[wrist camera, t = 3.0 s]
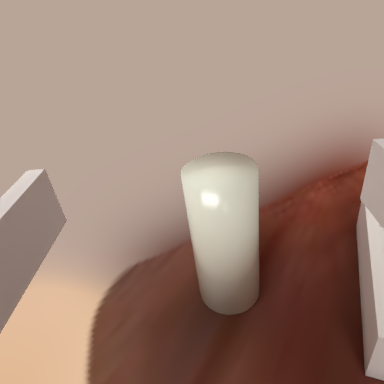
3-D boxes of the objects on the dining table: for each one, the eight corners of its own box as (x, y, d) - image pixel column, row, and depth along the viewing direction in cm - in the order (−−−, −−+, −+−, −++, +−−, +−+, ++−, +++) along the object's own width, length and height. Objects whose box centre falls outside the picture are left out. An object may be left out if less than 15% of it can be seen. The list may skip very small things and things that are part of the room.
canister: (264, 273, 33) (265, 154, 25) (252, 321, 28) (248, 194, 21) (210, 262, 35) (196, 150, 27) (191, 306, 30) (168, 186, 23)
